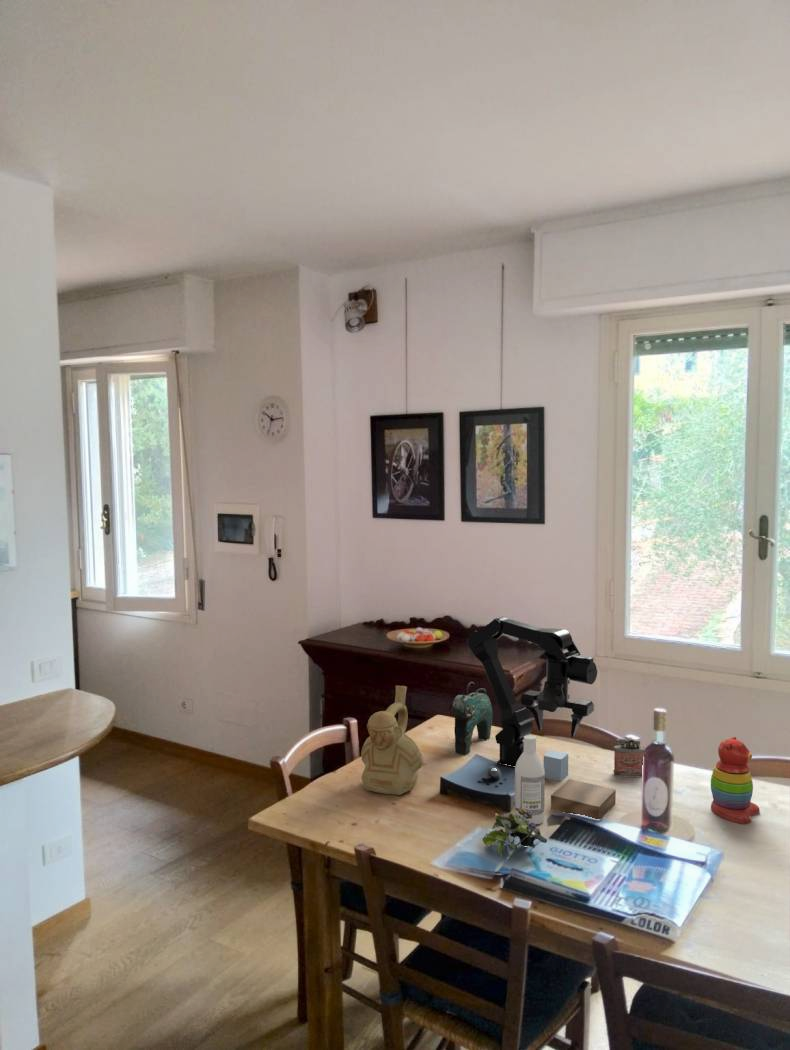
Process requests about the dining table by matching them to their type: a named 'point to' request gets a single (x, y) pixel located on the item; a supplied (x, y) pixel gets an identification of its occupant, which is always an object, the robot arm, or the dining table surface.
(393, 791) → the ceramic vessel
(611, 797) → the walnut slab
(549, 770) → the slate block
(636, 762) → the lighter
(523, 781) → the bath foam
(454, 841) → the dining table surface
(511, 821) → the green leafy plant
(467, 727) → the green elephant figurine
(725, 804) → the stacking bear
